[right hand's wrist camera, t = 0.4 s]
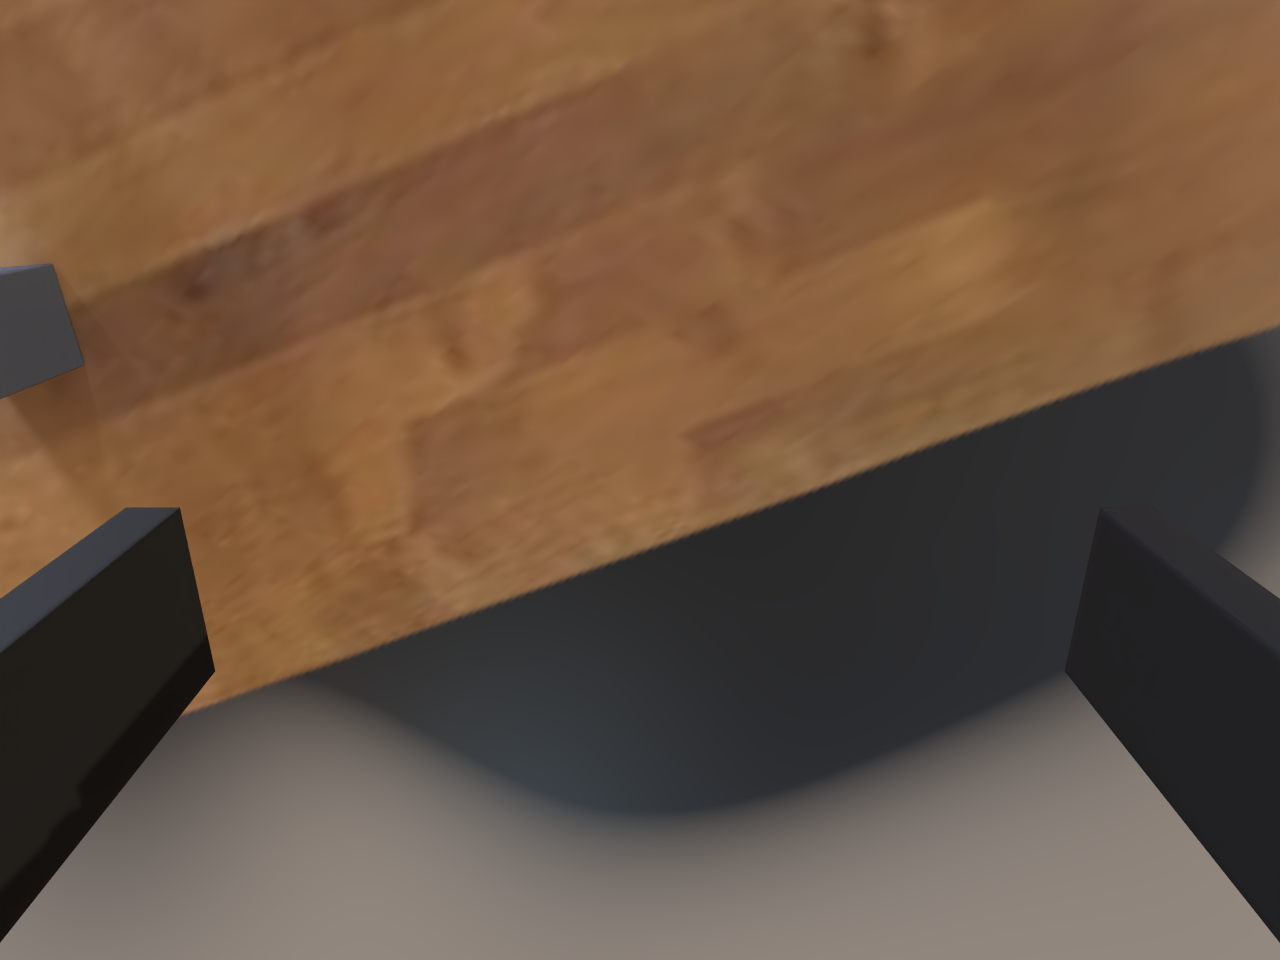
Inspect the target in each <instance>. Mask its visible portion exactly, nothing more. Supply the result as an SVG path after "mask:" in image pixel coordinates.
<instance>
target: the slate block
mask: <svg viewBox="0 0 1280 960" xmlns="http://www.w3.org/2000/svg"><path fill="white" fill-rule="evenodd" d="M83 365H84V362H83V358H82V355H81V352H80V349H79V346H78V343H77V340H76V336H75V333H74V330H73V327H72V324H71V321H70V318H69V314H68V311H67V308H66V305H65V302H64V299H63V296H62V292H61V289H60V286H59V283H58V280H57V277H56V274H55V270H54V267H53V265H52V264H43V265H30V266H17V267H5V268H0V399H1V398H4V397H6V396H9V395H11V394H14V393H16V392H19V391H21V390H24V389H26V388H29V387H31V386H33V385H36V384H38V383H41V382H43V381H46V380H48V379H51V378H53V377H56V376H58V375H61V374H63V373H66V372H68V371H71V370H73V369H76V368H78V367H81V366H83Z"/></svg>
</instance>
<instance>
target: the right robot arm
mask: <svg viewBox="0 0 1280 960" xmlns="http://www.w3.org/2000/svg"><path fill="white" fill-rule="evenodd" d="M214 672H215V668H214V663H213V659H212V654H211V650H210V645H209V640H208V636H207V631H206V627H205V622H204V617H203V613H202V608H201V603H200V599H199V594H198V590H197V585H196V580H195V576H194V571H193V566H192V562H191V557H190V553H189V548H188V543H187V539H186V534H185V530H184V525H183V520H182V516H181V511H180V508H125V509H124V510H122V511H121V512H119V513H118V514H117V515H115V516H114V517H113V518H111V519H110V520H108V521H107V522H106V523H104V524H103V525H102V526H100V527H99V528H97V529H96V530H95V531H93V532H92V533H90V534H89V535H88V536H86V537H85V538H84V539H82V540H81V541H79V542H78V543H77V544H75V545H74V546H73V547H71V548H70V549H68V550H67V551H66V552H64V553H63V554H61V555H60V556H59V557H57V558H56V559H55V560H53V561H52V562H50V563H49V564H48V565H46V566H45V567H44V568H42V569H41V570H39V571H38V572H37V573H35V574H34V575H33V576H31V577H30V578H28V579H27V580H26V581H24V582H23V583H21V584H20V585H19V586H17V587H16V588H15V589H13V590H12V591H10V592H9V593H8V594H6V595H5V596H4V597H2V598H1V599H0V942H1V941H2V940H3V938H4V937H5V936H6V935H7V933H8V932H9V931H10V930H11V928H12V927H13V926H14V925H15V923H16V922H17V921H18V919H19V918H20V917H21V916H22V914H23V913H24V912H25V911H26V909H27V908H28V907H29V906H30V904H31V903H32V902H33V901H34V899H35V898H36V897H37V896H38V894H39V893H40V892H41V890H42V889H43V888H44V887H45V885H46V884H47V883H48V882H49V880H50V879H51V878H52V877H53V875H54V874H55V873H56V872H57V870H58V869H59V868H60V866H61V865H62V864H63V863H64V861H65V860H66V859H67V858H68V856H69V855H70V854H71V853H72V851H73V850H74V849H75V848H76V846H77V845H78V844H79V843H80V841H81V840H82V839H83V837H84V836H85V835H86V834H87V832H88V831H89V830H90V829H91V827H92V826H93V825H94V824H95V822H96V821H97V820H98V819H99V817H100V816H101V815H102V813H103V812H104V811H105V810H106V808H107V807H108V806H109V805H110V803H111V802H112V801H113V800H114V798H115V797H116V796H117V795H118V793H119V792H120V791H121V789H122V788H123V787H124V786H125V784H126V783H127V782H128V781H129V779H130V778H131V777H132V776H133V774H134V773H135V772H136V771H137V769H138V768H139V767H140V766H141V764H142V763H143V762H144V760H145V759H146V758H147V757H148V755H149V754H150V753H151V752H152V750H153V749H154V748H155V747H156V745H157V744H158V743H159V742H160V740H161V739H162V738H163V736H164V735H165V734H166V733H167V731H168V730H169V729H170V728H171V726H172V725H173V724H174V723H175V721H176V720H177V719H178V718H179V716H180V715H181V714H182V713H183V711H184V710H185V709H186V707H187V706H188V705H189V704H190V702H191V701H192V700H193V699H194V697H195V696H196V695H197V694H198V692H199V691H200V690H201V689H202V687H203V686H204V685H205V683H206V682H207V681H208V680H209V678H210V677H211V676H212V675H213V673H214ZM1065 672H1066V673H1067V675H1068V676H1069V677H1070V678H1071V680H1072V681H1073V682H1074V683H1075V685H1076V686H1077V687H1078V689H1079V690H1080V691H1081V692H1082V694H1083V695H1084V696H1085V697H1086V699H1087V700H1088V701H1089V702H1090V704H1091V705H1092V706H1093V707H1094V709H1095V710H1096V711H1097V713H1098V714H1099V715H1100V716H1101V718H1102V719H1103V720H1104V721H1105V723H1106V724H1107V725H1108V726H1109V728H1110V729H1111V730H1112V731H1113V733H1114V734H1115V735H1116V736H1117V738H1118V739H1119V740H1120V741H1121V743H1122V744H1123V745H1124V747H1125V748H1126V749H1127V750H1128V752H1129V753H1130V754H1131V755H1132V757H1133V758H1134V759H1135V760H1136V762H1137V763H1138V764H1139V765H1140V767H1141V768H1142V769H1143V771H1144V772H1145V773H1146V774H1147V776H1148V777H1149V778H1150V779H1151V781H1152V782H1153V783H1154V784H1155V786H1156V787H1157V788H1158V789H1159V791H1160V792H1161V793H1162V794H1163V796H1164V797H1165V798H1166V800H1167V801H1168V802H1169V803H1170V805H1171V806H1172V807H1173V808H1174V810H1175V811H1176V812H1177V813H1178V815H1179V816H1180V817H1181V818H1182V820H1183V821H1184V822H1185V824H1186V825H1187V826H1188V827H1189V829H1190V830H1191V831H1192V832H1193V834H1194V835H1195V836H1196V837H1197V839H1198V840H1199V841H1200V843H1201V844H1202V845H1203V846H1204V848H1205V849H1206V850H1207V851H1208V853H1209V854H1210V855H1211V856H1212V858H1213V859H1214V860H1215V861H1216V863H1217V864H1218V865H1219V866H1220V868H1221V869H1222V870H1223V872H1224V873H1225V874H1226V875H1227V877H1228V878H1229V879H1230V880H1231V882H1232V883H1233V884H1234V885H1235V887H1236V888H1237V889H1238V890H1239V892H1240V893H1241V894H1242V895H1243V897H1244V898H1245V899H1246V901H1247V902H1248V903H1249V904H1250V906H1251V907H1252V908H1253V909H1254V911H1255V912H1256V913H1257V914H1258V916H1259V917H1260V918H1261V919H1262V921H1263V922H1264V923H1265V925H1266V926H1267V927H1268V928H1269V930H1270V931H1271V932H1272V933H1273V935H1274V936H1275V937H1276V938H1277V940H1278V941H1279V942H1280V599H1279V598H1278V597H1276V596H1275V595H1274V594H1272V593H1271V592H1270V591H1268V590H1267V589H1265V588H1264V587H1263V586H1261V585H1260V584H1259V583H1257V582H1256V581H1254V580H1253V579H1252V578H1250V577H1249V576H1247V575H1246V574H1245V573H1243V572H1242V571H1241V570H1239V569H1238V568H1236V567H1235V566H1234V565H1232V564H1231V563H1230V562H1228V561H1227V560H1225V559H1224V558H1223V557H1221V556H1220V555H1218V554H1217V553H1216V552H1214V551H1213V550H1212V549H1210V548H1209V547H1207V546H1206V545H1205V544H1203V543H1202V542H1201V541H1199V540H1198V539H1196V538H1195V537H1194V536H1192V535H1191V534H1190V533H1188V532H1187V531H1185V530H1184V529H1183V528H1181V527H1180V526H1178V525H1177V524H1176V523H1174V522H1173V521H1172V520H1170V519H1169V518H1167V517H1166V516H1165V515H1163V514H1162V513H1161V512H1159V511H1158V510H1156V509H1155V508H1100V511H1099V516H1098V520H1097V525H1096V530H1095V534H1094V539H1093V543H1092V548H1091V553H1090V557H1089V562H1088V567H1087V571H1086V576H1085V581H1084V585H1083V590H1082V594H1081V599H1080V603H1079V608H1078V613H1077V617H1076V622H1075V626H1074V631H1073V636H1072V640H1071V645H1070V650H1069V655H1068V659H1067V663H1066V668H1065Z"/></svg>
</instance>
